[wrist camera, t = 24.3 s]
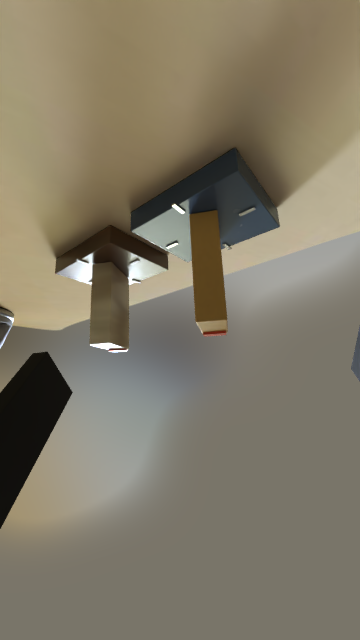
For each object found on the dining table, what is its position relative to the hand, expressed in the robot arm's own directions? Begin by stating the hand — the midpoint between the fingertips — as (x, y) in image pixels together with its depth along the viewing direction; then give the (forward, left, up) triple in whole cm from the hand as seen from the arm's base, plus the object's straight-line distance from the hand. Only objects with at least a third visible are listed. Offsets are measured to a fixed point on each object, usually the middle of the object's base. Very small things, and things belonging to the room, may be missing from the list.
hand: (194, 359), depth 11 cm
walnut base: (-19, -10, -15) cm, 26 cm away
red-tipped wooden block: (-5, -10, -13) cm, 17 cm away
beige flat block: (-19, -10, -13) cm, 25 cm away
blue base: (-5, -10, -15) cm, 18 cm away
